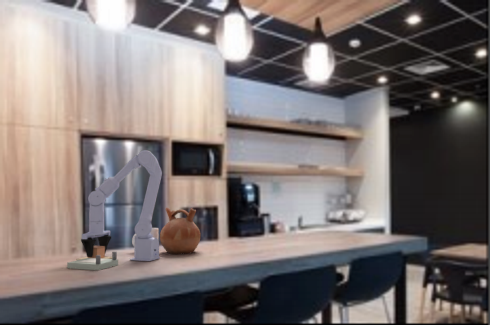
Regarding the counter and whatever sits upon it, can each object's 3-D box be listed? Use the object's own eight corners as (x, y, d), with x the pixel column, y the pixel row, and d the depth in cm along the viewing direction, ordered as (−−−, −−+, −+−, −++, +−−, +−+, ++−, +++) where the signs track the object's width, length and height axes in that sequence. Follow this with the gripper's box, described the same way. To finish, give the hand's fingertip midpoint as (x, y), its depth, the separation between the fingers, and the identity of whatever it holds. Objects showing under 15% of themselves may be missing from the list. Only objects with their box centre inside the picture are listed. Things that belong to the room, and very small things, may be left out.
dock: (118, 264, 158) (118, 251, 158) (98, 270, 147) (98, 256, 148) (88, 263, 163) (88, 250, 163) (67, 268, 152) (67, 254, 153)
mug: (133, 253, 185) (133, 230, 186) (130, 251, 193) (130, 228, 193) (160, 251, 191) (160, 228, 191) (155, 249, 198) (155, 227, 199)
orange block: (104, 257, 168) (104, 246, 168) (97, 259, 164) (97, 247, 164) (95, 256, 170) (95, 245, 170) (87, 258, 166) (87, 247, 166)
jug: (150, 254, 183) (151, 208, 184) (173, 248, 199) (173, 206, 201) (187, 256, 176) (187, 208, 177) (207, 250, 192) (207, 206, 194)
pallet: (116, 259, 169) (116, 256, 169) (100, 263, 160) (101, 260, 161) (92, 258, 173) (92, 255, 173) (76, 262, 165) (76, 258, 165)
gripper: (100, 219, 176) (100, 252, 175) (75, 222, 162) (75, 257, 162) (114, 220, 173) (114, 253, 173) (90, 222, 160) (89, 258, 159)
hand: (96, 255), depth 167 cm, fingers open, 7 cm apart
